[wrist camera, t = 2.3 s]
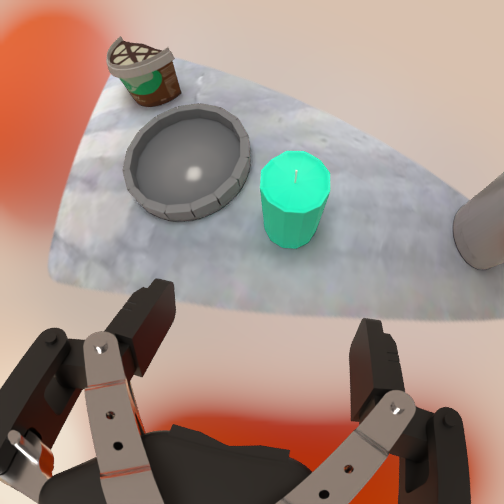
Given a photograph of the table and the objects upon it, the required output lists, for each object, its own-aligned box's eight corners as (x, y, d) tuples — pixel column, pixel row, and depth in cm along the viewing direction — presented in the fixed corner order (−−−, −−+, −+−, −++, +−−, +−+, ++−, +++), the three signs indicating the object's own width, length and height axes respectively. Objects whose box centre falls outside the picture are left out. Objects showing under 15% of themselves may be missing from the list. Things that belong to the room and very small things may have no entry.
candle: (309, 195, 36) (321, 135, 24) (322, 243, 34) (343, 197, 22) (259, 205, 36) (251, 147, 24) (270, 253, 34) (266, 212, 23)
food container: (113, 99, 43) (88, 60, 33) (138, 76, 44) (118, 35, 34) (160, 123, 40) (136, 76, 31) (188, 95, 41) (170, 47, 32)
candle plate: (223, 101, 40) (220, 88, 38) (271, 188, 36) (271, 176, 33) (122, 147, 40) (114, 137, 37) (149, 242, 36) (140, 235, 33)
